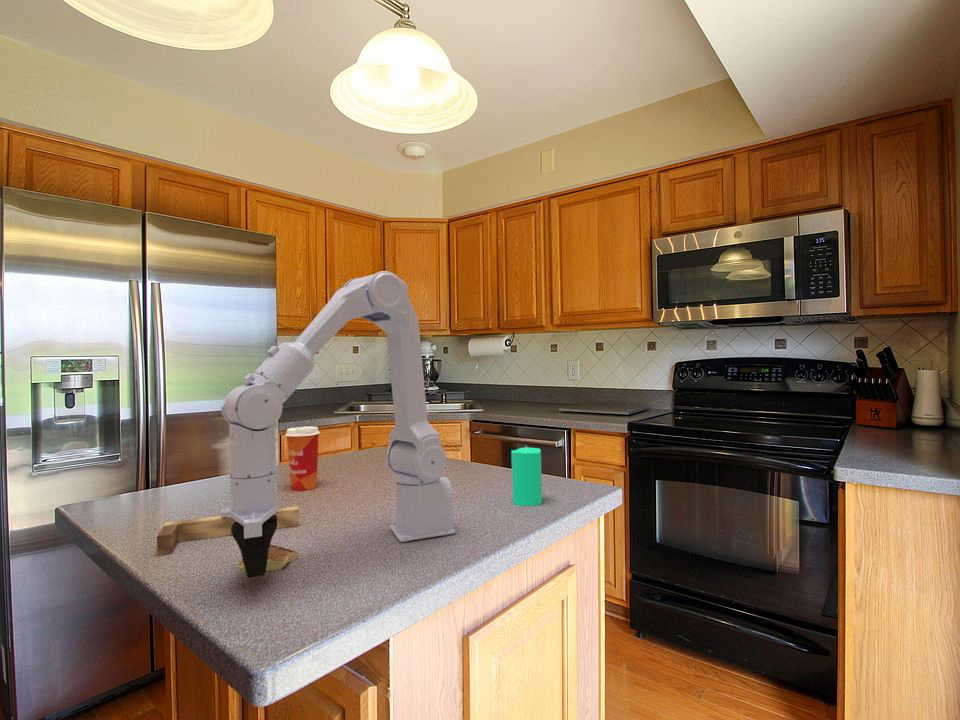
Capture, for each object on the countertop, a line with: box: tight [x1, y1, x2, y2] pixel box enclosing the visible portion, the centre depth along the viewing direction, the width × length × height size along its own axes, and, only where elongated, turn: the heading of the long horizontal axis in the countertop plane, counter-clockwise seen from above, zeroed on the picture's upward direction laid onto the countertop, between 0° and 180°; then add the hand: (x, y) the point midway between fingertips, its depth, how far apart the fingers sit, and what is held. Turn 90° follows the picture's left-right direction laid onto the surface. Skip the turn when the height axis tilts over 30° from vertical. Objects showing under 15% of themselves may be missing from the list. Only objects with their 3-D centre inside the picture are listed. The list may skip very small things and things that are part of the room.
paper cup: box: [284, 425, 321, 492], centre depth 121 cm, size 8×8×14 cm
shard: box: [237, 544, 298, 575], centre depth 78 cm, size 11×8×2 cm
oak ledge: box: [156, 505, 300, 557], centre depth 87 cm, size 21×8×3 cm, turn 112°
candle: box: [511, 446, 543, 507], centre depth 104 cm, size 6×6×12 cm
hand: (256, 574), depth 70 cm, fingers closed
